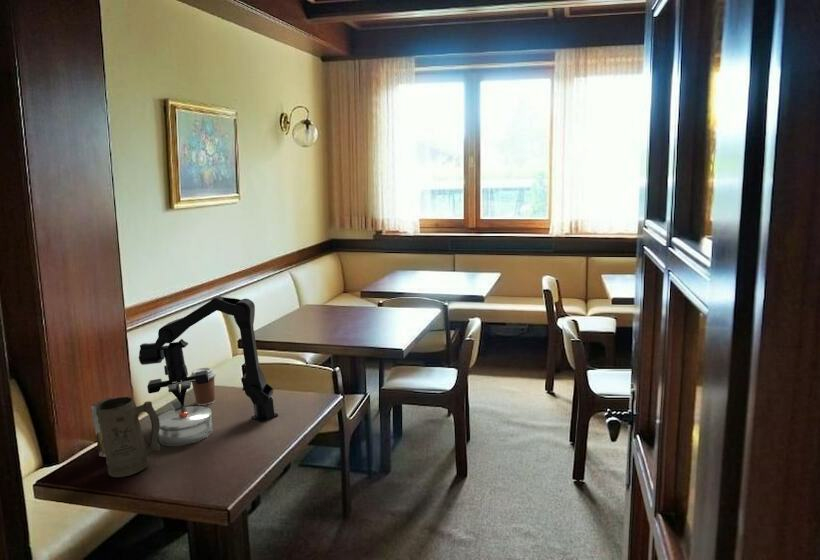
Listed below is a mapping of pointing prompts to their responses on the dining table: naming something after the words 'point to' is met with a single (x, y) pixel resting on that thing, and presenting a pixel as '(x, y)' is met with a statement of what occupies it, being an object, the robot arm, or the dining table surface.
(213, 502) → the dining table surface
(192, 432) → the cooker pot
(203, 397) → the coffee cup
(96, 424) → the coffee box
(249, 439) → the dining table surface
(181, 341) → the robot arm
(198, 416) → the cooker lid
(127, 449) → the beer stein
